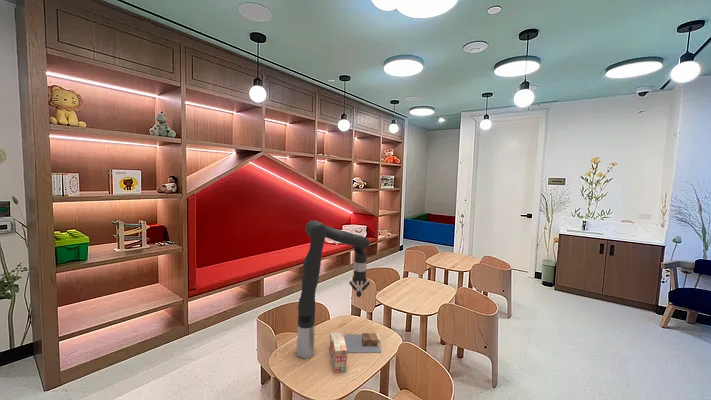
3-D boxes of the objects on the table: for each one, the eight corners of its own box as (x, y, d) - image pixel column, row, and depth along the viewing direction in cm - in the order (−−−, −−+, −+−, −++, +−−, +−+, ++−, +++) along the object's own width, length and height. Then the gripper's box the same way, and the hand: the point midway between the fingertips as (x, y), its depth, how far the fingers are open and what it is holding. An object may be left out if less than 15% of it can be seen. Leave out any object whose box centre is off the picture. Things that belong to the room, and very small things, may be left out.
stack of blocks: (329, 347, 168) (330, 327, 167) (340, 346, 169) (341, 327, 168) (334, 373, 147) (335, 350, 146) (346, 372, 149) (347, 349, 147)
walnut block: (363, 340, 169) (380, 340, 170) (362, 333, 176) (378, 333, 177) (363, 346, 170) (379, 346, 171) (361, 339, 177) (378, 339, 178)
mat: (346, 353, 164) (346, 352, 164) (345, 334, 182) (345, 334, 182) (381, 352, 165) (381, 352, 165) (376, 334, 183) (376, 334, 183)
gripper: (349, 271, 169) (348, 299, 171) (371, 271, 170) (370, 299, 172) (348, 266, 177) (347, 293, 178) (370, 267, 178) (368, 294, 180)
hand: (358, 296), depth 175 cm, fingers closed
